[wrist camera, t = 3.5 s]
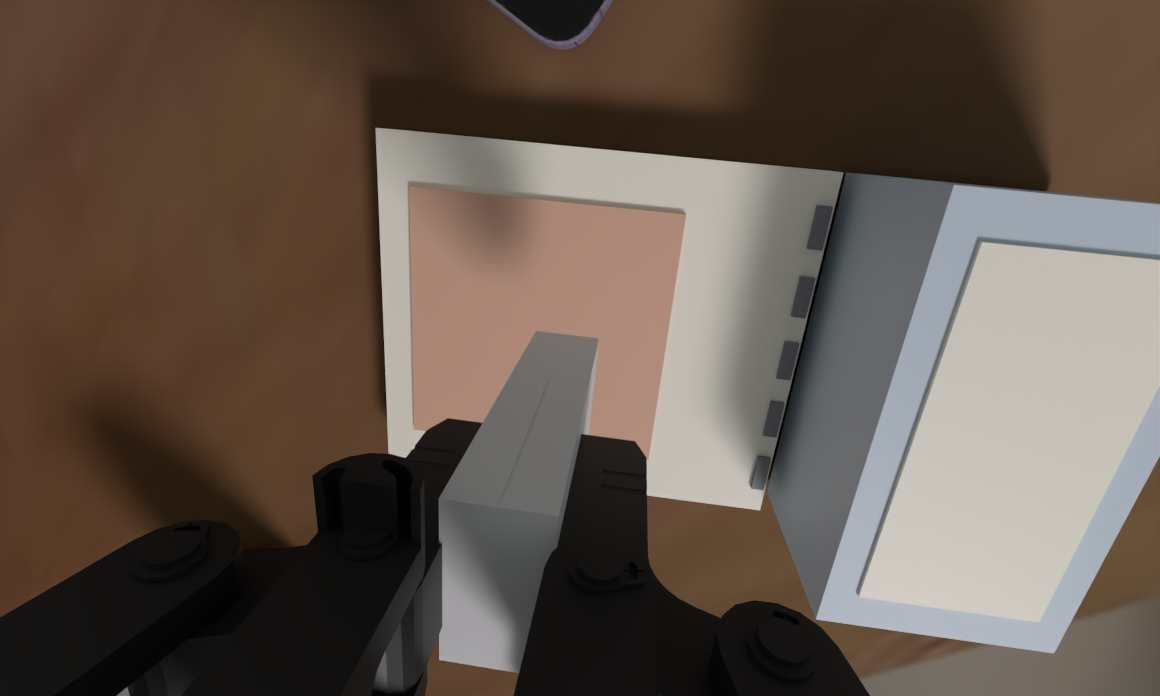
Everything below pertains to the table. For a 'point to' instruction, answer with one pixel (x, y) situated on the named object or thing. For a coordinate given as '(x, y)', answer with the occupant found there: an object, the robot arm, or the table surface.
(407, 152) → the board
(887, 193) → the blue framed panel box
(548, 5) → the smartphone
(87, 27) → the table surface
